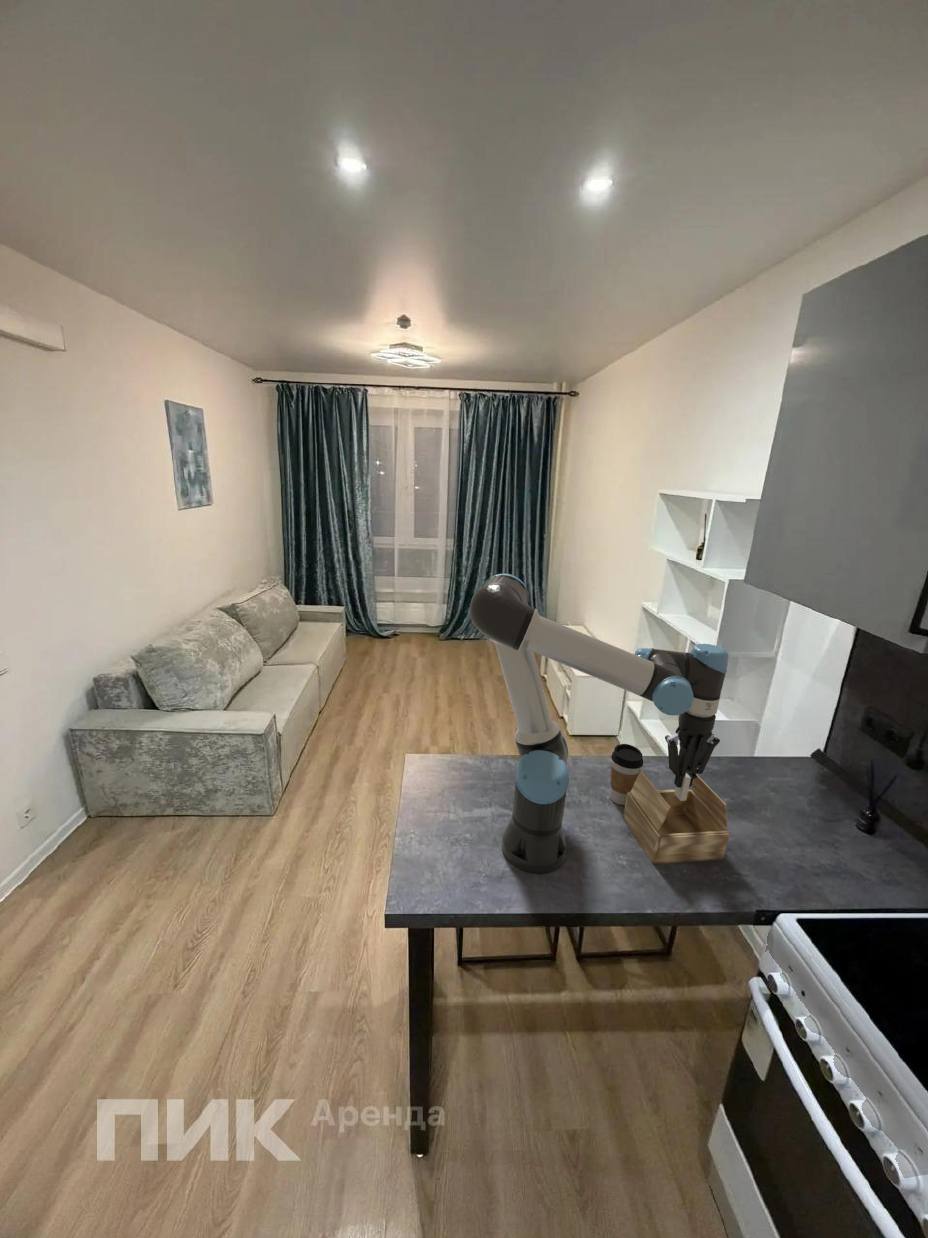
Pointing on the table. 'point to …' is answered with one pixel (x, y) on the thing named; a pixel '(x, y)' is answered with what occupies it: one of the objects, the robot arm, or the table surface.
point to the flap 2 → (710, 799)
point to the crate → (678, 830)
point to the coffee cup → (624, 771)
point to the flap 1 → (650, 800)
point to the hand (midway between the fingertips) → (680, 797)
